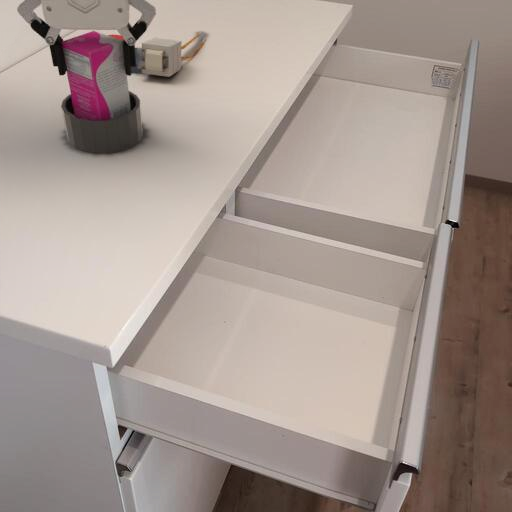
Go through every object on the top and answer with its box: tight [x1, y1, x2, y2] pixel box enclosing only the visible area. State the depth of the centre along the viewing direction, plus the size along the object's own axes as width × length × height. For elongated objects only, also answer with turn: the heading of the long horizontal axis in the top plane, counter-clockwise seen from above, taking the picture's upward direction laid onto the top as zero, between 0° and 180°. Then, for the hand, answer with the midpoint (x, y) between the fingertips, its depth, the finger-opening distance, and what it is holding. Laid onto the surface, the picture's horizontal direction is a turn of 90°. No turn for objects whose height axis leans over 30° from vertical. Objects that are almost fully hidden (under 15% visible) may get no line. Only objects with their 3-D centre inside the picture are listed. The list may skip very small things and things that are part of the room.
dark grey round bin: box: [61, 90, 144, 155], centre depth 78 cm, size 11×11×6 cm
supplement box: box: [61, 30, 131, 120], centre depth 74 cm, size 6×6×12 cm
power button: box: [108, 34, 124, 41], centre depth 98 cm, size 4×4×2 cm
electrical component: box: [136, 31, 207, 78], centre depth 103 cm, size 24×6×5 cm, turn 168°
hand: (96, 70), depth 73 cm, fingers closed on supplement box, 8 cm apart
